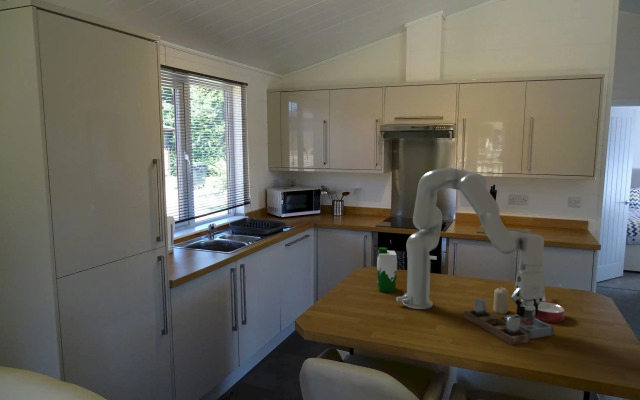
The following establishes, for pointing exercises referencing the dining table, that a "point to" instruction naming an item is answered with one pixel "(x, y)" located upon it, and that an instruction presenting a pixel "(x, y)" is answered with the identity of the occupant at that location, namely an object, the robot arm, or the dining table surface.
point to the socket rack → (497, 327)
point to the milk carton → (386, 270)
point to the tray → (536, 328)
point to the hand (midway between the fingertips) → (527, 314)
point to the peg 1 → (480, 307)
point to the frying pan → (550, 312)
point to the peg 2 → (512, 325)
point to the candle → (501, 300)
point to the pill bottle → (528, 314)
